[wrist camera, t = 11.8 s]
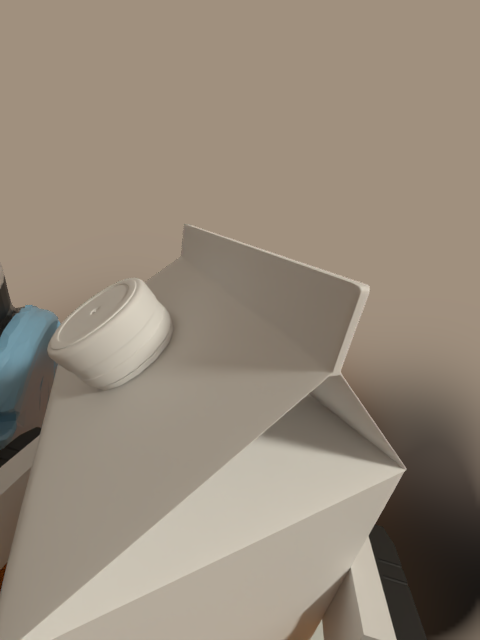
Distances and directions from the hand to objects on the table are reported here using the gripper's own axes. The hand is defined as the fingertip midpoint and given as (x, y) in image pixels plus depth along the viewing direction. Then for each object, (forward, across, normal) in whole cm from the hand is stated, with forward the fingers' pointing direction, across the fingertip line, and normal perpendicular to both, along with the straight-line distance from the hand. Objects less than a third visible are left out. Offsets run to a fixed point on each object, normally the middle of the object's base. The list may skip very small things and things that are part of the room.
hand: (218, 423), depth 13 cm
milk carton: (-4, 0, -10) cm, 11 cm away
